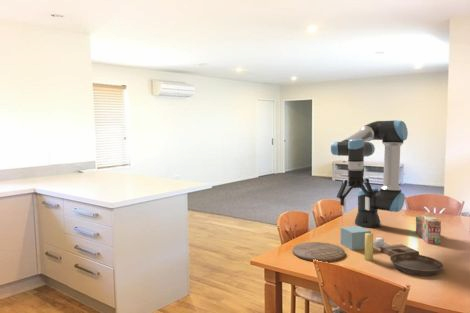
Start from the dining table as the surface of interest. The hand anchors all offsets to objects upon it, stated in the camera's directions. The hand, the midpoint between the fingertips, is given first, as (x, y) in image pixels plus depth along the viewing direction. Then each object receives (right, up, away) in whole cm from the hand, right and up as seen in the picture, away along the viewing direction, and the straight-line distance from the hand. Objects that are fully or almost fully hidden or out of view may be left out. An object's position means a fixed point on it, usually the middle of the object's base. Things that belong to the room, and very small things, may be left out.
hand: (355, 210), depth 190 cm
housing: (0, -18, +1) cm, 18 cm away
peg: (0, -20, -18) cm, 27 cm away
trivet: (-21, -20, -8) cm, 30 cm away
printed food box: (+44, -17, +14) cm, 49 cm away
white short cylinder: (+14, -18, +2) cm, 23 cm away
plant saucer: (+17, -21, -29) cm, 40 cm away
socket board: (+17, -19, -12) cm, 28 cm away
